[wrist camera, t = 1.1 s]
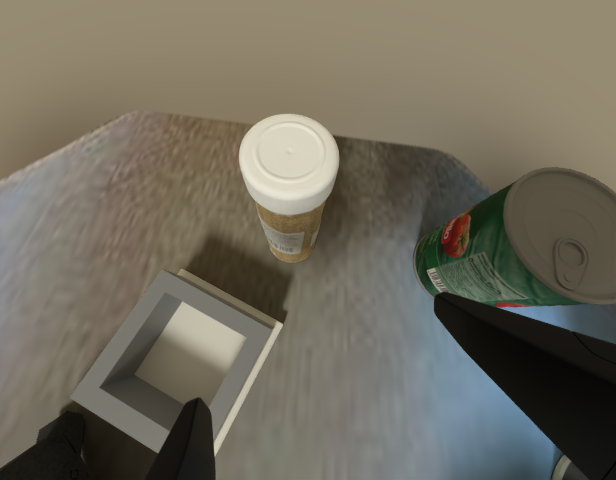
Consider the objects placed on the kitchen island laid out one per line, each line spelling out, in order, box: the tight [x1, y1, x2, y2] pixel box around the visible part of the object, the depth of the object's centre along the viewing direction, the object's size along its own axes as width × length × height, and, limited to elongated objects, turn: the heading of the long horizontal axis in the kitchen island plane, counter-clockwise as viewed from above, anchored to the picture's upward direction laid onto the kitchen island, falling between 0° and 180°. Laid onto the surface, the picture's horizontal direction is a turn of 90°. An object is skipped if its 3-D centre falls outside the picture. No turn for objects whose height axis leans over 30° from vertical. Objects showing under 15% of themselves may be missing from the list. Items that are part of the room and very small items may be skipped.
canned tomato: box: [413, 167, 616, 308], centre depth 18 cm, size 8×8×11 cm
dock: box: [70, 269, 283, 456], centre depth 18 cm, size 10×10×4 cm
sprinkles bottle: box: [239, 114, 339, 263], centre depth 17 cm, size 5×5×13 cm
